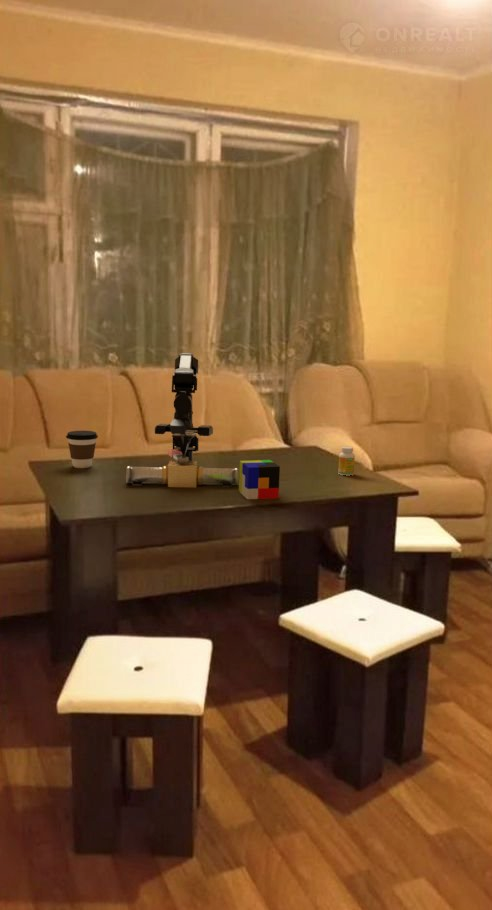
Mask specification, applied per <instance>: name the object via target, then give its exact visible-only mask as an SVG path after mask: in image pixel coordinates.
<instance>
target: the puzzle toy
mask: <svg viewBox="0 0 492 910" xmlns="http://www.w3.org/2000/svg"><path fill="white" fill-rule="evenodd" d="M280 474H281V466H280V465H278V464H276V462H274V461H272V460H271V459H257V460H255V459H253V460H239V469H238V492H239V493H240V494H241V495H242V496H243V497H244V498H245V499H247V500H263V499H265V500H266V499H267V500H268V499H279V497H280V496H279V495H280V494H279V493H280Z"/></svg>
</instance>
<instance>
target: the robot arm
mask: <svg viewBox="0 0 492 910" xmlns="http://www.w3.org/2000/svg"><path fill="white" fill-rule="evenodd" d="M197 374H199V359H198V358H196V357H195V356H194V354H193V353H191V352H189V353H188V352H186V353H185V352H181V353H179V354H178V357H176V358H175V359H174V374H172V376H171V380H172V381H171V393H173V394H174V393H175V395H174V399H173V400H174V401H173V408H174V412H173V413H174V414H173V419H172V420H171V422H170V423H158V424H157V425H155V426H154V434H155V435H164V434H166V433H171V434H172V435H171V437H172V449H178V450H179V451H181V452H182V454H183V455H184V456H186V457H188V461H194V460H193V455H194V453H193V452H195V453H196V452H199V438H198V436H199V437H210V436H212V435H213V434H214V428H213V426H212V425H206V424H205V425H204V424H203V425H202V424H201V425H200V426H198V427H195V426H194V422H193V415H194V411H193V395H192V394H195V393H196V391H198V378H197ZM197 434H198V436H197Z"/></svg>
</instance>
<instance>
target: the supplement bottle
mask: <svg viewBox="0 0 492 910" xmlns="http://www.w3.org/2000/svg"><path fill="white" fill-rule="evenodd" d="M355 456H356V455H355V454H354V447H352V446H341V452H340V454H339V455H338V470H337V471H338V472H337V473H338V475H339V474H340V476H343V475H346V477H350V475H352V476H354V474H355V459H356V457H355Z"/></svg>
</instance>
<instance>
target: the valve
mask: <svg viewBox="0 0 492 910" xmlns="http://www.w3.org/2000/svg"><path fill="white" fill-rule="evenodd" d="M125 468H126V469H125V481H126V483H127V484H130V483H132V484H131V486H132V487H133V486H134V487H142V486H143V483H146V484H147V483H149V484H150V483H154V484H155V483H156V484H157V483H158V484H159V483H161V484H162V485H167V488H197V486H203V484H209V485H210V484H215V485H216V484H219V485H220V484H221V485H222V488H232V487H233V486H234V485H236V486H237V485H238V486H239V467H233V468H227V467H225V468H221V467H220V468H218V467H213V468H212V467H203V466H202V465H201V466H198V461H197V460H193V461H188V462H187V463H178V462H177V460H169V462H168V464H167V465H162V467H161V466H159V467H157V466H131V465H127V466H126V467H125Z"/></svg>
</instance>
